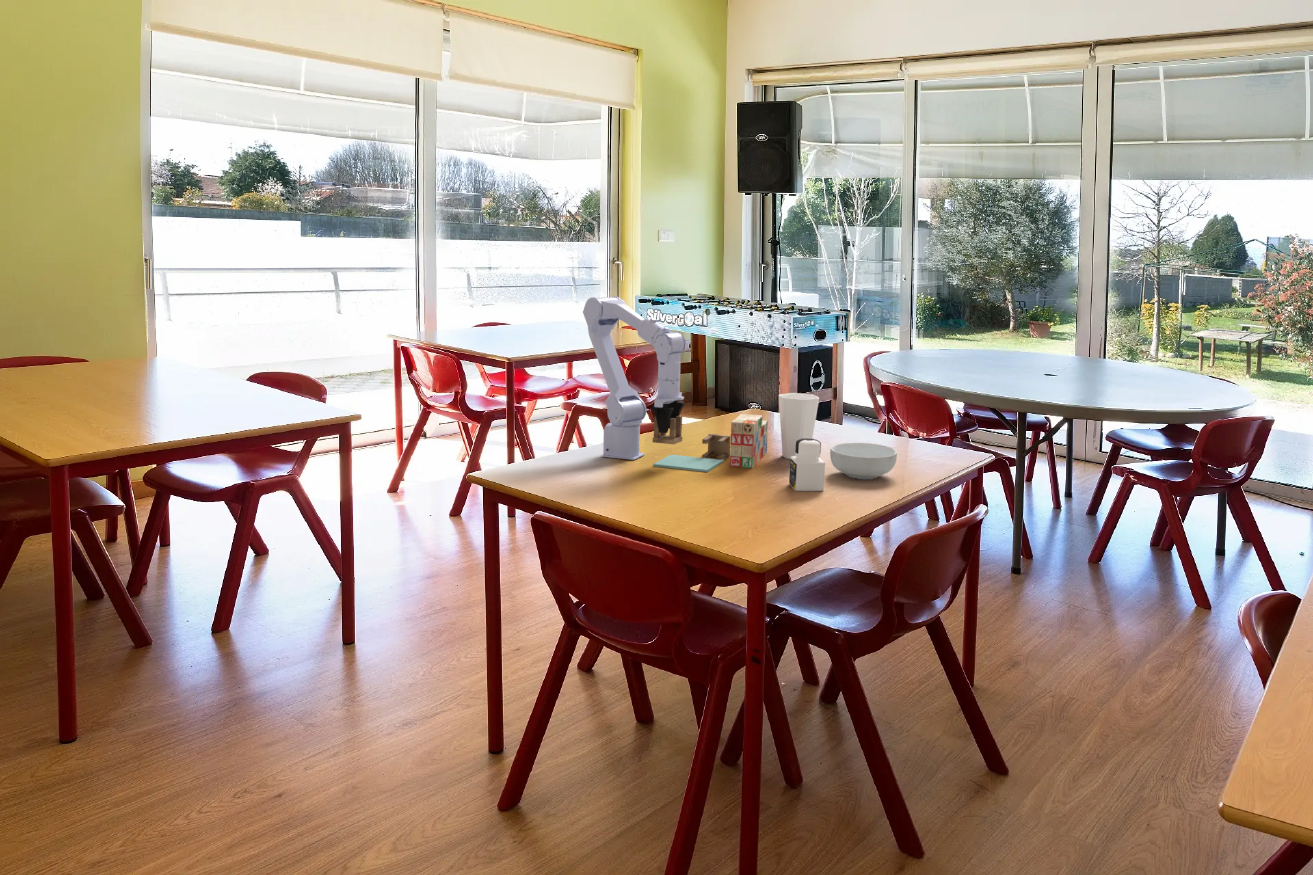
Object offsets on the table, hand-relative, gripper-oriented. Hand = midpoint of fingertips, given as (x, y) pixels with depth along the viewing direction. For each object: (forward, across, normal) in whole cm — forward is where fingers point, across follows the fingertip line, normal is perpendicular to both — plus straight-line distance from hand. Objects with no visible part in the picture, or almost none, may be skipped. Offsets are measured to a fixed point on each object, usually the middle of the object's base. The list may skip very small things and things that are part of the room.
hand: (667, 430), depth 276 cm
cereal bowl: (+10, +13, -49) cm, 51 cm away
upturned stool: (+3, 0, 0) cm, 3 cm away
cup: (+10, +26, -28) cm, 40 cm away
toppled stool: (+7, +12, -8) cm, 16 cm away
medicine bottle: (+10, -6, -39) cm, 41 cm away
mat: (+9, +4, -5) cm, 11 cm away
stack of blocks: (+10, +18, -17) cm, 27 cm away
